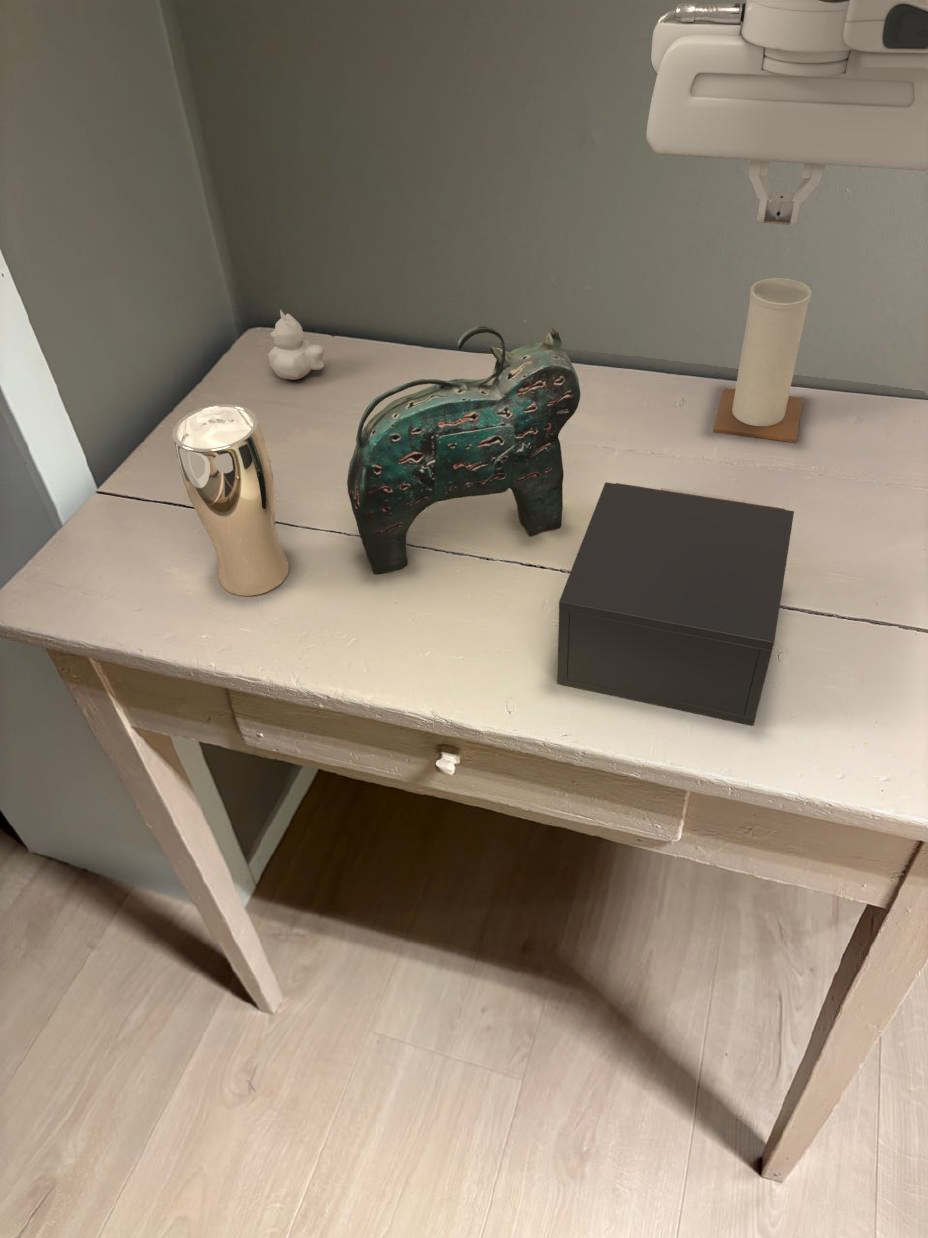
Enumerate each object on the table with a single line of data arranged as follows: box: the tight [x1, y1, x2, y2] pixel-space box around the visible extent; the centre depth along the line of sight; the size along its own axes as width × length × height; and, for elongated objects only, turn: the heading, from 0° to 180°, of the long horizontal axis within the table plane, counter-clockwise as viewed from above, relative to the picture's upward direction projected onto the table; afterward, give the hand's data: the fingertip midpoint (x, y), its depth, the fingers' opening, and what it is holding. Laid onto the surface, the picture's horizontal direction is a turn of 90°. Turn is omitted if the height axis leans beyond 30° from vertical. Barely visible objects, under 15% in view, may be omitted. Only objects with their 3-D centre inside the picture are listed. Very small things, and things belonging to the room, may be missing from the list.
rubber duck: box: [267, 308, 325, 381], centre depth 106 cm, size 5×7×8 cm
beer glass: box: [171, 403, 290, 597], centre depth 79 cm, size 7×7×15 cm
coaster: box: [712, 387, 804, 444], centre depth 98 cm, size 8×8×1 cm
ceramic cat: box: [346, 325, 581, 575], centre depth 79 cm, size 20×6×20 cm, turn 108°
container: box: [732, 277, 812, 426], centre depth 93 cm, size 5×5×13 cm
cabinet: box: [556, 482, 795, 726], centre depth 73 cm, size 15×15×9 cm
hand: (777, 221), depth 71 cm, fingers closed
